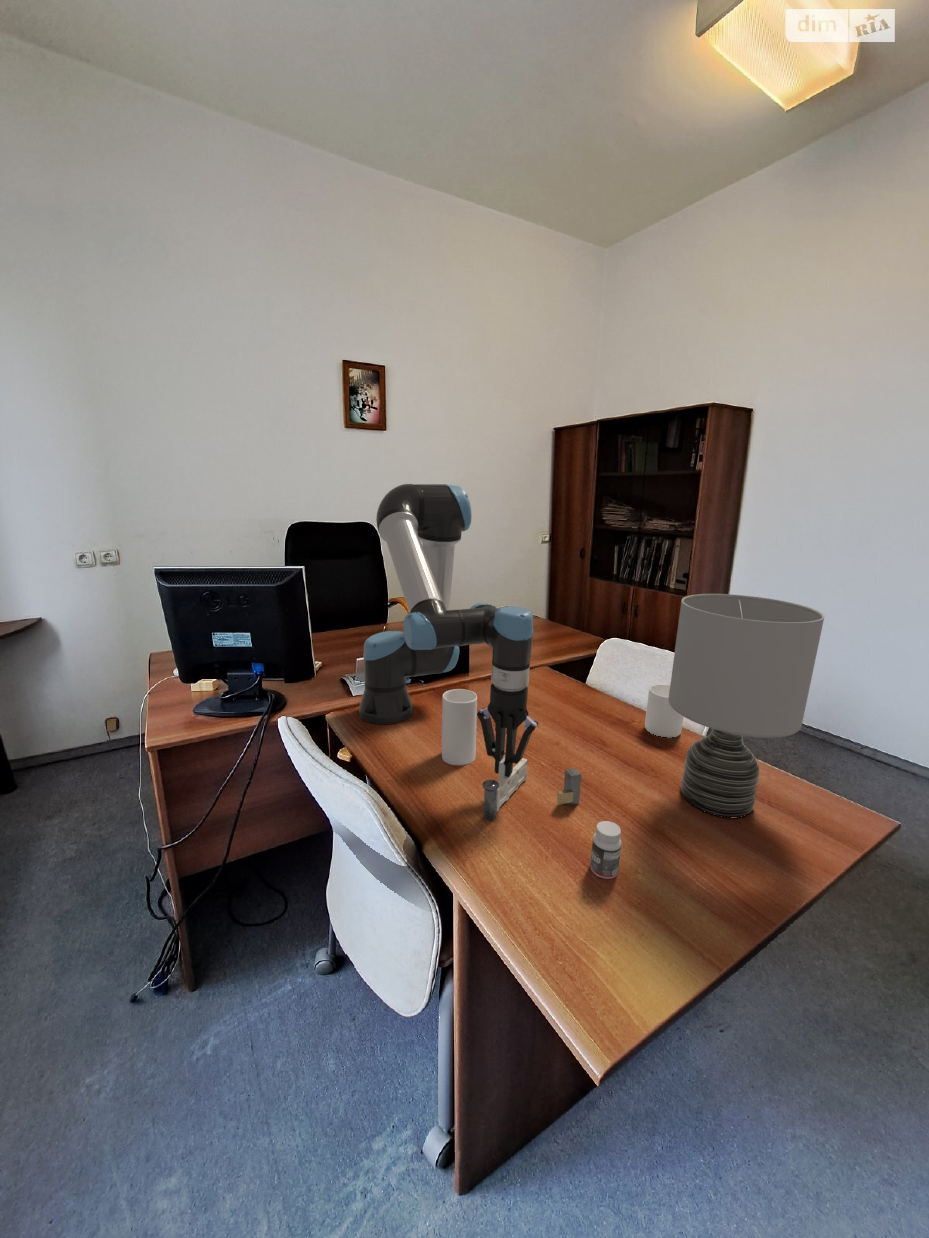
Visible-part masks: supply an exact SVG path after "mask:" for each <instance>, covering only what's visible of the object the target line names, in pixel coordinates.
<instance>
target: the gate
mask: <svg viewBox="0 0 929 1238" xmlns="http://www.w3.org/2000/svg"><path fill="white" fill-rule="evenodd" d="M528 763H529V762H528V759H526V758H524V757H522V759H521V760H520V761H519V763H518V764H515V766H513V771H512V774H511V775H510V776H509V777H507V776H504V778H503V779H502V780H501V781H500V782H499V788H498V789H497V796H496V813H498V812H499V810H500V807H502V806H503V804H504V803H505V802H508V801H509V799H510V796H511V795H513V793H514V792H515V791H518V789H519V787H520V786H521V784H522V783H523V782H526V781H527V779H528V778H527V777H528Z"/></svg>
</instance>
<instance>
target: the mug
mask: <svg viewBox="0 0 929 1238" xmlns="http://www.w3.org/2000/svg"><path fill="white" fill-rule="evenodd" d="M669 691H670V685H669V684H653V685H651V686H649V689H648V695H647V704H646V711H645V719H644V728H645V729H646V731H647V733H649V732H650V733H649V734H651V735H653V734H654V735H653V736H655V735H656V736H655V737H658V736H661V737H660V738H662V737H667V738H666V739H673V738H672V737H674V738H677V737H679V736H680V735H681V733H682V729H683V723H684V718H685V717H684V716H682V715H681V714H679V713H678V712H676V711H675V710H674V709H673V708H672V707H671V705H670V704H669Z"/></svg>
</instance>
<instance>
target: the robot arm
mask: <svg viewBox="0 0 929 1238" xmlns="http://www.w3.org/2000/svg"><path fill="white" fill-rule="evenodd" d="M375 522H376V528H377V531H378V534H379V537H380V538H381V539H382V541H384V542H385V543H386V545H387V548H388V551H389V554H390V558H391V560H392V563H393V566H394V570H395V572H396V576H397V579H398V581H399V585H400V588H401V591H402V594H403V597H404V600H405V603H406V606H407V610H408V612H409V613H407V614H406V615H405V616H404V619H403V626H402V627H403V629H402V630H403V631H399V630H394V631H393V630H387V631H381V632H378V633H375V634H372V635H371V636H369V637H368V638H367V639H366V640H365V641H364V644H363V655H362V658H363V669H364V670H363V673H364V676H363V677H364V691H363V694H362V697H361V699H360V703H359V709H358V710H359V711H358V712H359V713H358V715H359V717H360V719H361V720H363V721H365V722H367V723H371V724H376V725H389V724H390V725H391V724H396V723H401V722H402V721H406V720H407V719H409V717H411V716H412V714H413V703H412V700H411V697H410V694H409V692H408V689H407V678H411V677H412V678H413V677H418V676H419V677H420V676H427V675H433V674H436V675H440V674H442V673H447V672H451V671H452V670H454V669H455V667H456V665H457V663H458V661H459V658H460V657H459V655H460V647H462V646H469V645H470V646H471V645H477V644H478V645H479V644H480V645H481V644H486V645H488V646H489V647H491V648H492V656H491V657H492V659H491V672H490V673H491V675H490V678H491V679H490V681H491V684H490V693H489V703H488V704H487V707H482V708H481V709H480V710H479V711H477V718H478V720H479V722H480V725H481V730H482V734H483V739H484V744H485V745H484V746H485V751H486V755H487V756H488V757H492V758H494V760H495V761H494V772H495V774H497V775H498V777H497V782H498V783H499V782H500V781H501V780H502V779H503V778H504V776H507V777H509V776H510V775H511V774H512V771H513V767H514V764H515V765H517V764H518V763H519V762H520V761H521V759H522V758H524V754H525V752H526V749H527V746H528V744H529V741H530V739H531V737H532V733H533V732H534V731H535V730H536V728H537V727H538V726H539V721H538V720H533V719H532V718H531V717H530V716H529V711H528V710H527V707H528V705H527V704H528V695H529V694H528V693H529V687H528V686H529V683H530V681H529V680H530V667H531V658H532V657H531V656H532V647H533V636H534V616H533V613H532V611H530V610H529V609H526V608H521V607H520V606H502V607H500V608H499V607H496V606H495V605H492V604H488V603H484V602H479V603H476V604H474V605H472V606H471V607H470V608H464V609H461V608H460V609H451V597H452V595H451V594H452V585H453V584H452V583H453V574H454V571H453V570H454V561H455V547H456V544H458V543H459V542H460V541H461V540H462V533H463V532H466V531H468V530H469V528H470V526H471V523H472V506H471V501H470V499H469V496H468V494H467V491H465V490H464V488H462V486H459V485H455V484H454V485H453V484H442V483H441V484H438V483H437V484H435V483H434V484H433V483H430V484H429V483H428V484H427V483H425V484H424V483H423V484H422V483H421V484H420V483H419V484H417V483H416V484H415V483H414V484H413V483H404V484H400V485H397V486H395V487H394V488H392V489H391V490H389V491H388V492H387V493H386V494H385V495H384V497H383V498H382V500H381V501H380V503H379V505H378V508H377V512H376V521H375ZM459 646H460V647H459ZM492 720H493V722H494V725H495V726H493V722H492ZM523 723H524V725H523V729H524V731H523V733H522V736H521V737H520V741H519V743H518V745H517V749H516V742H517V731H518V729H519V726H521V725H522V724H523ZM494 731H495V733H494Z"/></svg>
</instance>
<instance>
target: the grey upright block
mask: <svg viewBox="0 0 929 1238" xmlns="http://www.w3.org/2000/svg"><path fill="white" fill-rule="evenodd" d="M563 783H564V784H563V790H559V791H557V799H556V802H557V804H558V805H563V804H564V805H565V804H566V805H567V806H568V807H570V806H575V805H576V806H577V805H580V795H581V785H582V784H581V783H582V773H581V772H580V771H579V770H578V769H577V768H567V769H565V770H564V782H563Z"/></svg>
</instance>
